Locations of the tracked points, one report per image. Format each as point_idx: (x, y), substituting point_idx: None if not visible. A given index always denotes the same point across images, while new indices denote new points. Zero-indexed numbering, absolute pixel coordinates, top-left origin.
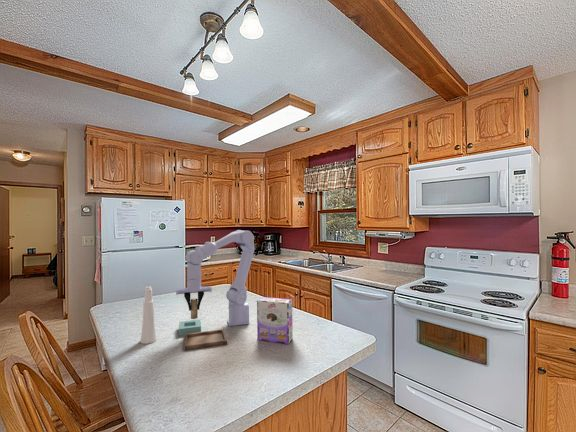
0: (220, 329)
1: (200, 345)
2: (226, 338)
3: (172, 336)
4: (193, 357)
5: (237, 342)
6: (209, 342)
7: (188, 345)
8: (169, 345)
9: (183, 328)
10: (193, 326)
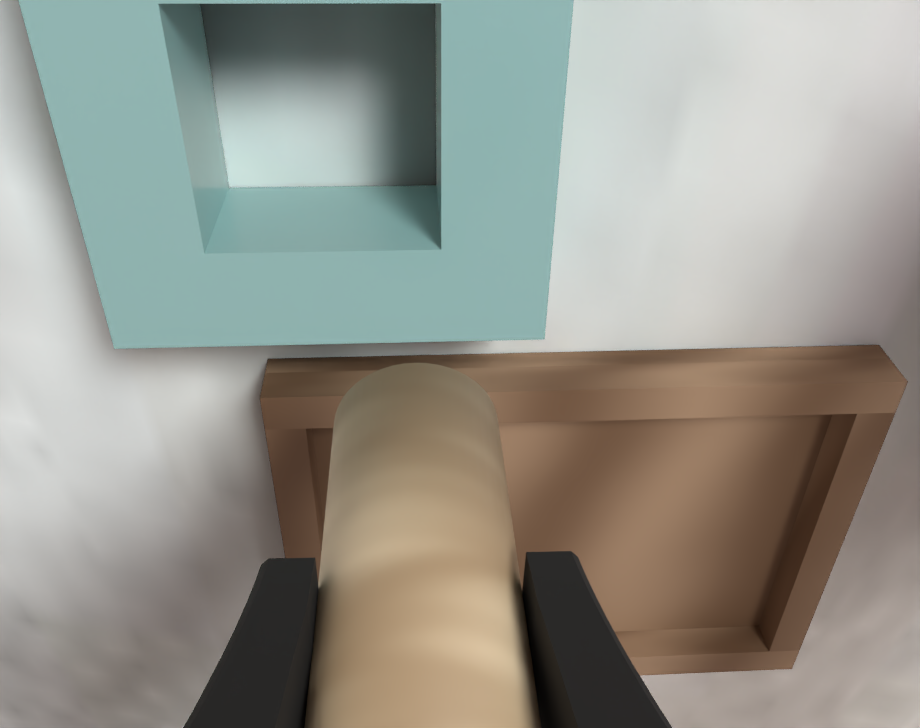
0: (847, 387)
1: None
2: (798, 638)
3: (31, 246)
4: None
5: (888, 616)
6: None
7: None
8: (92, 513)
9: (205, 342)
10: (398, 301)
